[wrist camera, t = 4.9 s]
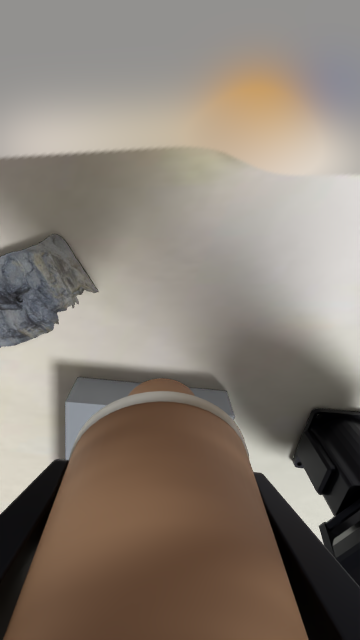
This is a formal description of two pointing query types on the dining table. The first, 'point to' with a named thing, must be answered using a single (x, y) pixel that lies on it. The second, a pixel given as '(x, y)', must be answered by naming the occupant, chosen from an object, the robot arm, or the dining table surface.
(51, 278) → the driftwood
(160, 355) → the dining table surface
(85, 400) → the board
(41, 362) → the dining table surface
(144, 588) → the peg
